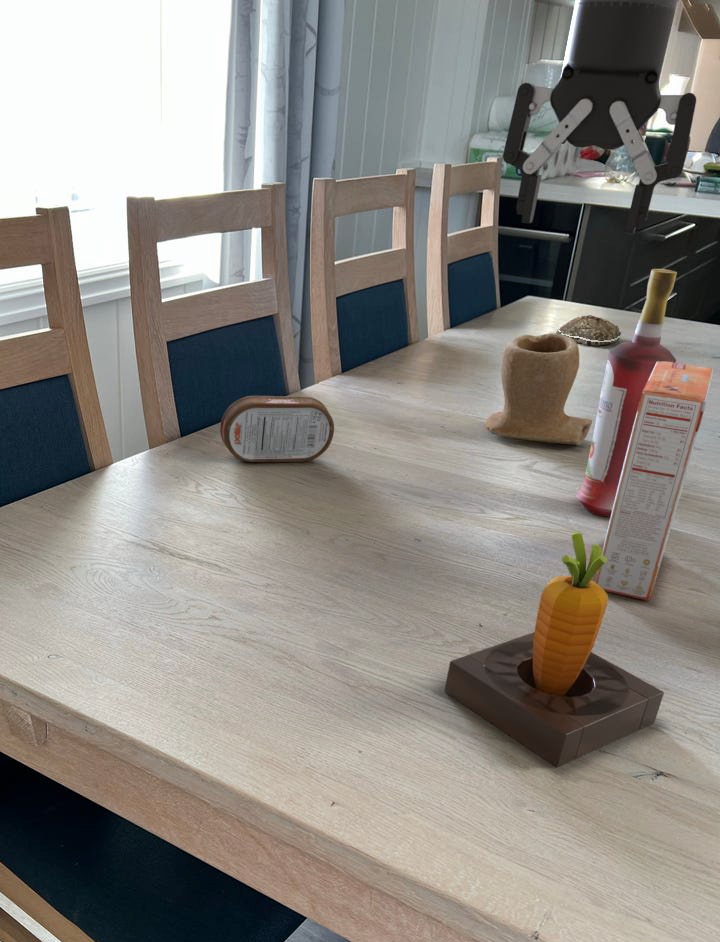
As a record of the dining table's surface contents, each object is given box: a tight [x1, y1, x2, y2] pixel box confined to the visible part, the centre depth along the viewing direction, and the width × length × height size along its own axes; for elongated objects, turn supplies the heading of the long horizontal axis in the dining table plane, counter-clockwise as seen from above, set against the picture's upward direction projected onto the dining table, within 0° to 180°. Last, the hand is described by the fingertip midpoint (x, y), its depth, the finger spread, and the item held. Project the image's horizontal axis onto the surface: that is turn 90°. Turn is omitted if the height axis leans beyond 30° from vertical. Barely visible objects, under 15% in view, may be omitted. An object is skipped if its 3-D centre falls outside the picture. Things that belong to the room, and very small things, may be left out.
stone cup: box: [484, 333, 593, 446], centre depth 140 cm, size 15×12×15 cm
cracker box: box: [594, 361, 714, 601], centre depth 100 cm, size 14×6×21 cm, turn 154°
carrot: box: [533, 531, 609, 697], centre depth 76 cm, size 5×5×15 cm
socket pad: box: [444, 631, 665, 768], centre depth 79 cm, size 12×12×3 cm
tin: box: [219, 395, 335, 463], centre depth 127 cm, size 15×3×8 cm, turn 102°
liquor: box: [576, 268, 678, 517], centre depth 114 cm, size 7×7×28 cm
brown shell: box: [555, 314, 622, 347], centre depth 208 cm, size 13×12×5 cm
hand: (577, 227), depth 83 cm, fingers open, 8 cm apart
